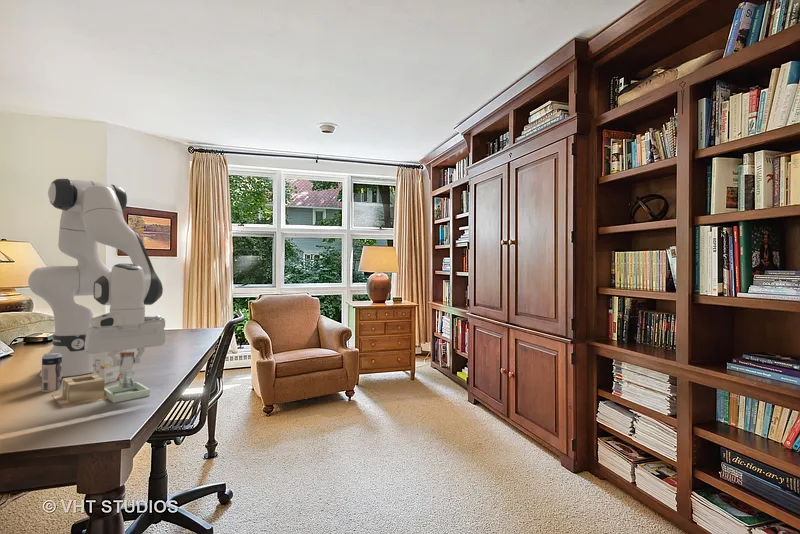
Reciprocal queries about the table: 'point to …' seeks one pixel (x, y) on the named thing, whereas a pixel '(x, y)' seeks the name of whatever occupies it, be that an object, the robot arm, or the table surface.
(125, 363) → the steel pin
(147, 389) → the tray
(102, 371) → the ink cartridge box
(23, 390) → the table surface
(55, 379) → the beer can
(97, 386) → the block
